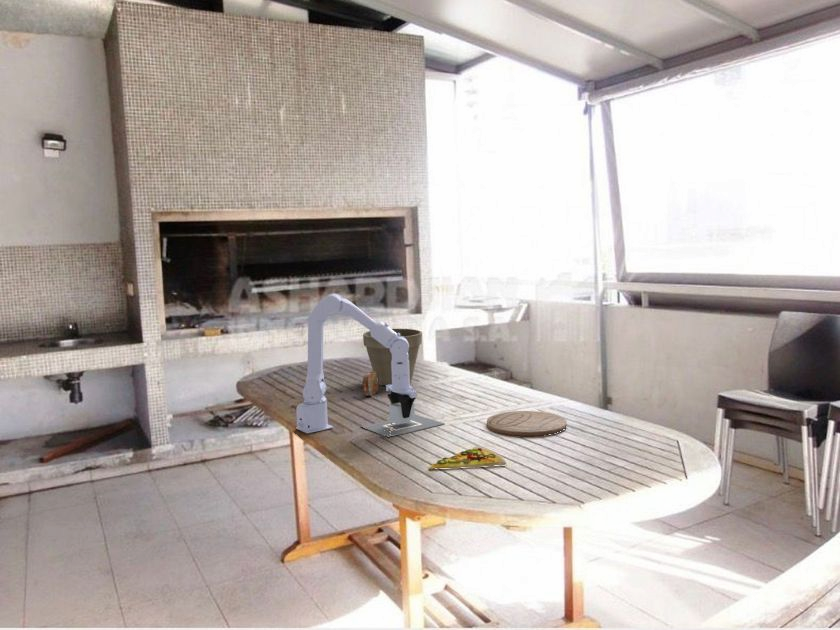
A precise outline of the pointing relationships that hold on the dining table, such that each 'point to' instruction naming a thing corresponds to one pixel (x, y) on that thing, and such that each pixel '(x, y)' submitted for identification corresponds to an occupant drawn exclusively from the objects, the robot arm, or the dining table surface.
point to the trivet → (526, 423)
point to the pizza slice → (471, 459)
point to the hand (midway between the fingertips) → (402, 416)
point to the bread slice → (370, 383)
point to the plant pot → (383, 356)
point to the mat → (403, 426)
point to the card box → (399, 413)
